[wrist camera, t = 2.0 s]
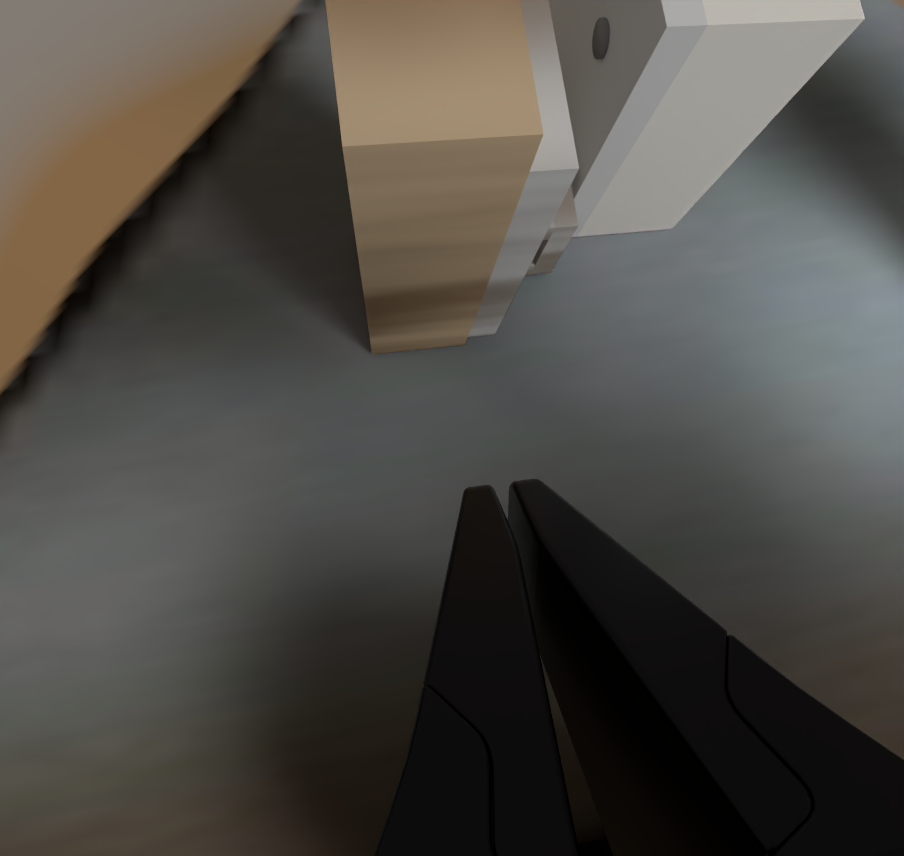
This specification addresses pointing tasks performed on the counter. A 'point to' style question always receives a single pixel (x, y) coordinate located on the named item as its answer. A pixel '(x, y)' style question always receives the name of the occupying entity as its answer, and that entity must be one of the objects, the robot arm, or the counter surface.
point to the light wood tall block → (451, 160)
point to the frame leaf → (679, 94)
